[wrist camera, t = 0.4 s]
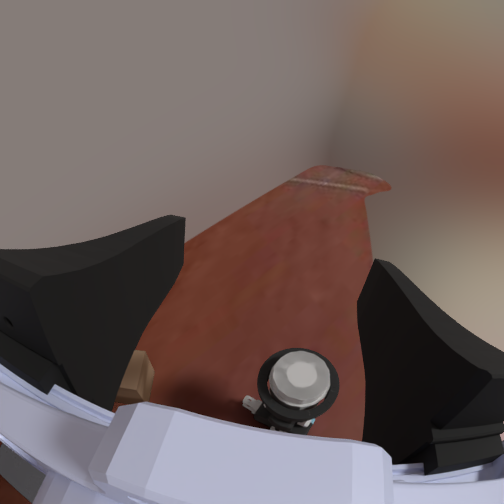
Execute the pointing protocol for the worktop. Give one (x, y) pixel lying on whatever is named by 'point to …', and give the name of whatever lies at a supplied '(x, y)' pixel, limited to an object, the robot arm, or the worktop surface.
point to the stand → (20, 473)
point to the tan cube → (136, 380)
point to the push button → (294, 390)
